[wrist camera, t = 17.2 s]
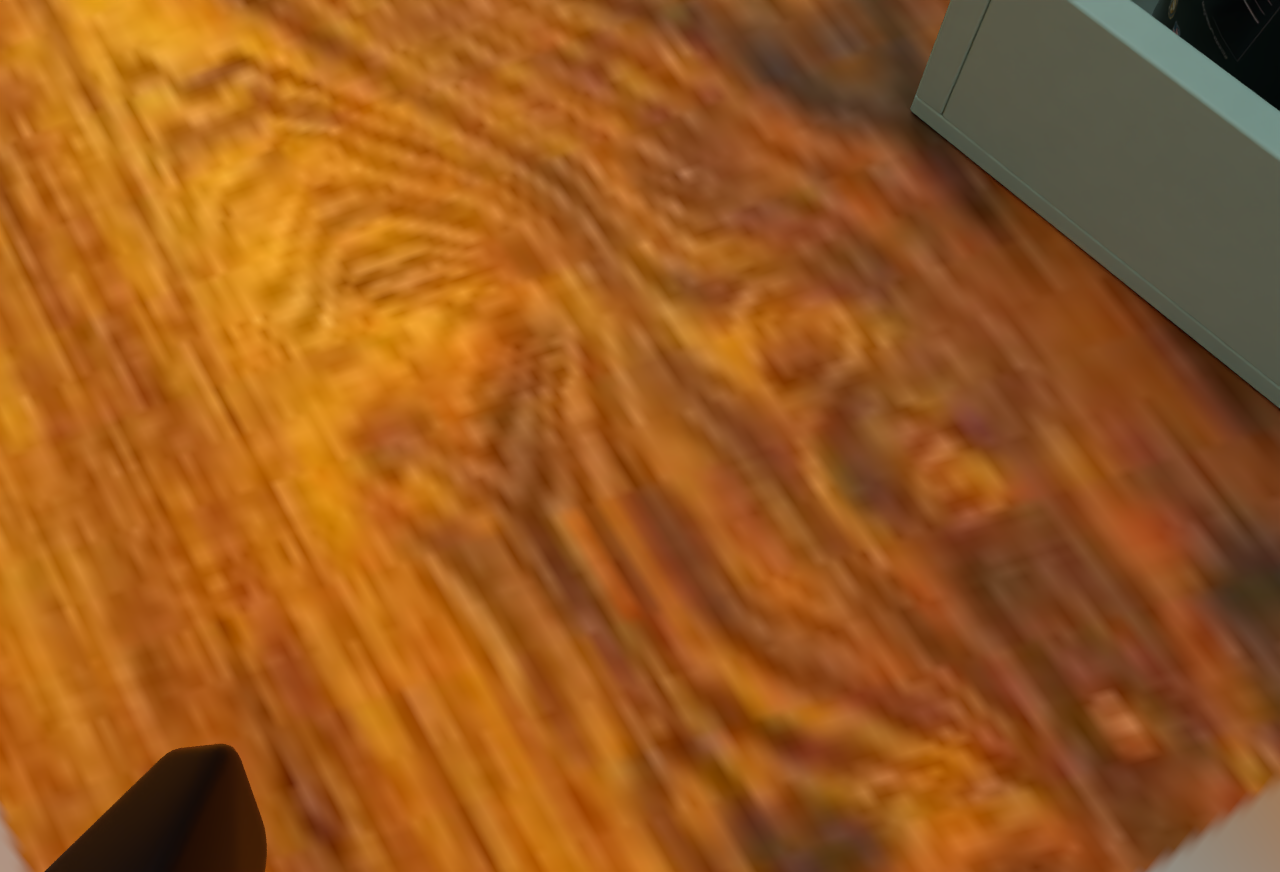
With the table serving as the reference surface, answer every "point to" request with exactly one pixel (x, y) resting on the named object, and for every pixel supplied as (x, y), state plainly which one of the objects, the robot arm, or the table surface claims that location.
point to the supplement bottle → (1232, 38)
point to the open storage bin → (1126, 156)
